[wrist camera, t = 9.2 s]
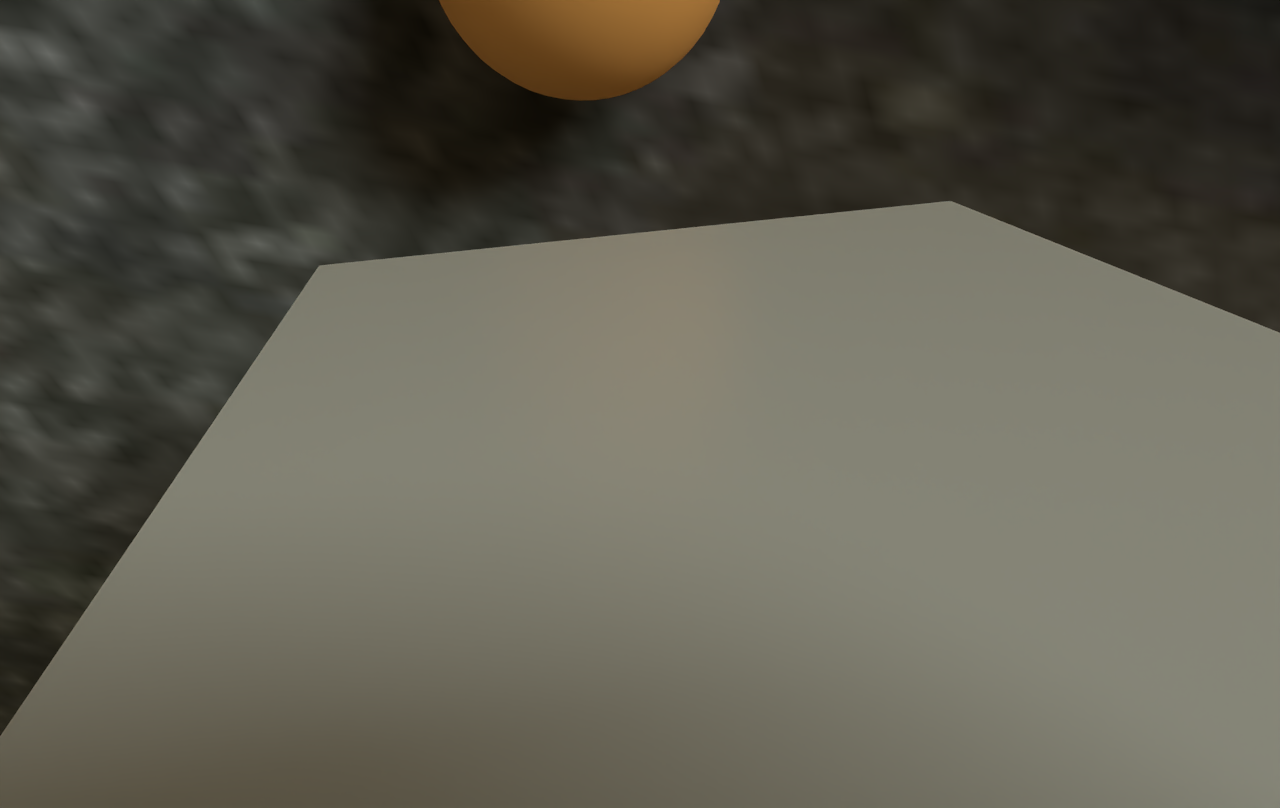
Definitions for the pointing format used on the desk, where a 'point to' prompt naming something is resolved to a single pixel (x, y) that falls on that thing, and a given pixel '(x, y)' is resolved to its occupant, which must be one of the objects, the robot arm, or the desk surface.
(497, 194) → the desk surface
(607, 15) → the ball
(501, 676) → the plain beige cube
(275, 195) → the desk surface
